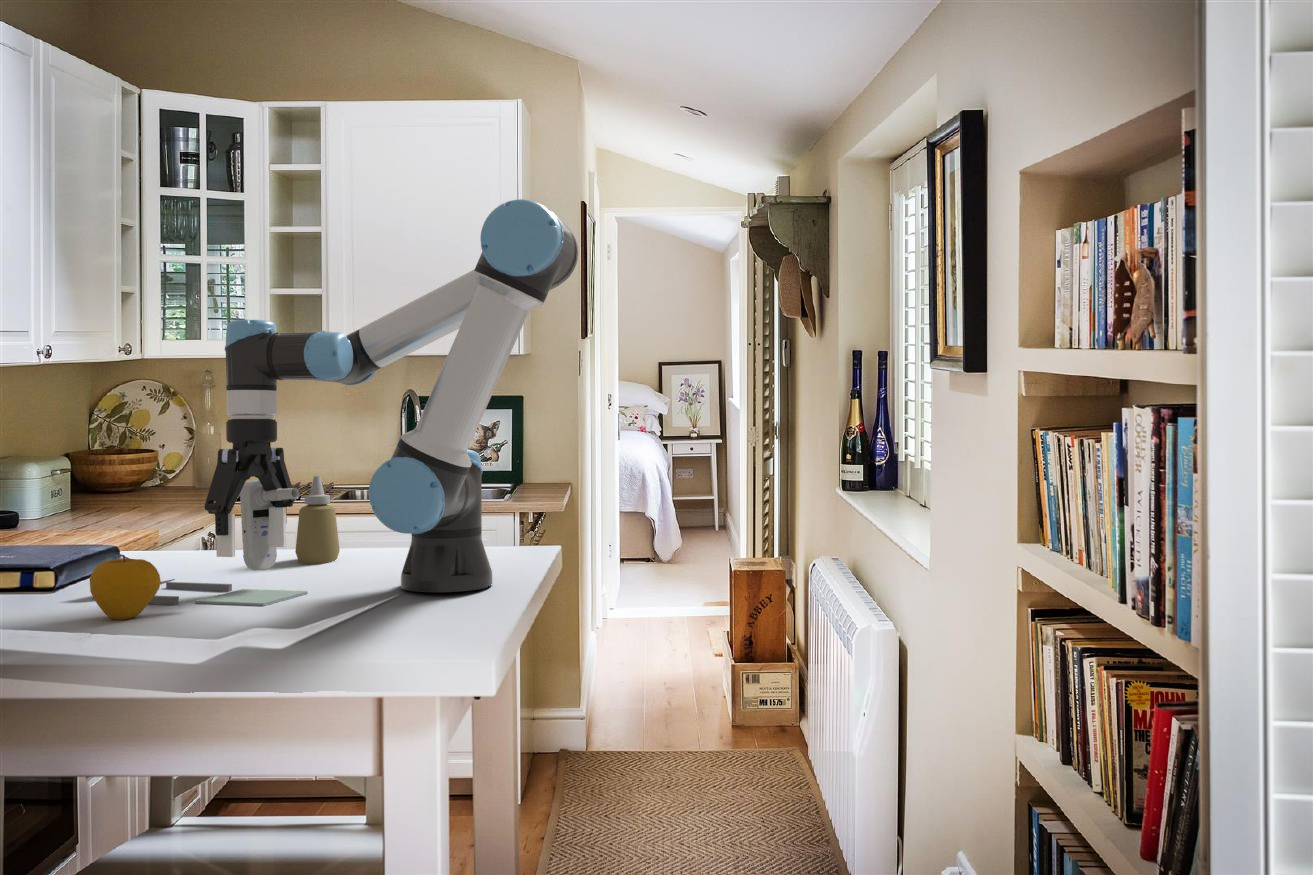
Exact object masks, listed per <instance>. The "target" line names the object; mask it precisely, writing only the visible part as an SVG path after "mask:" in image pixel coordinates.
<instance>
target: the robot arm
mask: <svg viewBox="0 0 1313 875" xmlns="http://www.w3.org/2000/svg"><path fill="white" fill-rule="evenodd" d="M480 249H481V251H482V252H481V253H480V256H479V258H478V260H477V263H476V265H475V268H474V269H472V270H471V271H468V272H467V273H464V274H462V275H460V276H459V277H456V278H455V279H453V280H450V282H447V283H445V284H443V285H441V286H439V287H438V288H435V289H433V290H432V291H431V290H430V292H428V293H426V294H423V295H421V296H420V297H418V298H417V299H415V300H412V301H410V302H408V303H407V304H405V305H402V306H400V307H399V308H397V309H395V310H393V311H390V312H389V313H387V314H385V315H383V316H382V317H379V318H377V319H375V320H373V321H372V322H369V323H368V324H365V325H364V326H362V327H360V328H359V329H357V330H355V331H353V332H350V333H349V334H347V335H346V334H345V333H343V332H339V331H335V332H334V331H326V330H319V331H307V332H278V330H277V326H276V325H277V324H276V323H274V322H273V321H270V320H267V319H266V320H265V319H264V320H263V319H234V320H231V321H230V322H228V324H227V325H226V330H225V331H226V332H225V345H224V351H225V371H226V372H225V375H226V376H225V377H226V382H225V383H226V385H225V386H226V402H225V403H226V410H225V411H226V412H225V414H226V415H227V417H228V416H230V419H227V421H225V423H226V424H225V425H226V427H225V430H226V431H225V433H226V434H225V435H226V436H225V437H226V442H227V443H230V444H232V448H219V449H218V451H217V464H216V465H215V470H214V472H213V473H214V474H213V477H212V480H211V482H210V487H209V490H208V494H207V496H206V499H205V503H204V506H203V507H204V510H205V511H207V512H208V514H209V515H214V525H215V528H214V531H215V535H216V537H215V538H216V541H215V542H216V557H217V558H220V557H221V558H235V557H236V516H235V515H236V514H235V513H231V512H232V511H233V509H234V506H235V505H236V502H237V500H238V498H239V497H240V494H241V490H242V488H243V486H244V484H245V483H246V482H247V481H248V480H249V479H250V480H251V477H254V478H256V479H257V480H259V481H260V483H261V485H262V487H263V488H264V490H265V491H270V490H276V489H278V488H282V489H287V488H293V486H292V483H291V479H290V476H289V471H288V469H287V466H286V462H285V454H284V453H285V452H284V448H283V447H271V445H272V443H276V442H277V440H278V421H277V419H274V416H275V417H276V416H278V391H277V386H278V385H277V384H278V381H319V382H328V383H335V384H336V383H337V384H343V385H345V386H346V385H347V386H355V385H362V384H365V383H366V382H368V381H369V380H371V379H373V377H374V375H375V374H376V372H377V371H378V370H380V369H382V368H384V367H387V366H388V365H390V364H392V363H394V362H396V361H398V360H400V359H402V358H404V357H406V356H408V355H410V354H413V353H414V352H416V351H418V350H420V349H422V348H424V347H425V346H427V345H429V344H432V343H433V342H435V341H437V340H439V339H441V338H443V337H445V336H447V335H450V334H452V333H453V332H455V331H458V332H457V334H456V336H455V338H454V340H453V342H452V344H451V347H450V349H449V352H448V354H447V356H446V358H445V360H444V363H443V365H442V367H441V369H440V371H439V374H438V377H437V378H436V381H435V384H434V386H433V387H432V389H431V392H430V395H429V397H428V400H427V401H426V403H425V406H424V408H423V410H422V412H421V416H420V417H419V420H418V422H417V423H416V424H417V425H416V426H415V428H413V429H412V430H410V431H408V432H405V433H403V434H401V436H400V438H399V441H398V442H397V444H396V447H395V449H394V451H393V452H392V453H393V454H392V455H391V458H390V459H388V460H386V461H385V462H383V463H382V464H381V465H380V466H379V467H378V468H377V469H376V470H375V472H374V473H373V475H372V476H371V479H370V481H369V482H370V483H369V486H368V487H369V488H368V500H369V501H368V502H369V505H370V507H371V508H372V509H371V510H372V511H373V514H374V516H375V517H376V518H377V520H378V521H379V522H380V523H381V524H382V525H384V526H385V527H386V528H388V529H389V530H391V531H393V532H396V533H400V534H409V535H410V534H411V539H410V545H409V548H408V552H407V554H406V558H405V561H404V564H403V567H402V571H401V574H400V588H401V589H402V590H405V591H409V592H417V593H422V592H423V593H454V592H455V593H456V592H468V591H476V590H481V589H486V588H489V587H492V585H493V570H492V567H491V563H490V561H489V559H488V556H487V552H486V549H485V546H484V543H483V538H482V536H483V535H482V530H483V529H482V527H483V525H482V522H483V521H482V520H483V519H482V514H483V513H482V499H483V498H482V475H483V468H482V461H481V460H482V459H481V456H480V454H479V453H478V452H477V451H475V450H473V449H469V447H470V445H471V442H472V441H473V438H474V436H475V434H476V432H477V429H478V427H479V425H480V423H481V421H482V418H483V417H484V414H485V412H486V409H487V407H488V404H489V403H490V400H491V398H492V395H493V394H494V391H495V390H496V387H497V384H498V382H499V380H500V378H501V376H502V373H503V370H504V369H505V366H506V364H507V363H508V360H509V358H510V356H511V354H512V351H513V349H514V346H515V344H516V342H517V340H518V338H519V336H520V333H521V331H522V329H523V325H524V324H525V321H526V320H527V318H528V315H529V313H530V311H531V310H533V309H536V308H538V307H540V306H541V307H542V306H543V305H544V303H545V302H546V301H545V300H546V298H547V297H548V294H549V293H550V291H551V290H554V289H555V288H557V287H559V286H561V285H562V284H563V283H565V282H566V281H567V280H568V279H569V278H570V276H571V275H572V274H573V272H574V270H575V269H576V267H577V264H578V258H579V257H578V256H579V250H578V249H579V247H578V242H577V239H576V236H575V234H574V233H573V231H572V230H571V229H570V228H569V227H568V225H566V224H565V223H564V222H563V221H562V220H560V219H559V217H558V216H557V214H556V213H555V212H554V211H553V210H552V209H550V208H549V207H546V206H545V205H543V204H541V203H538V202H536V201H534V200H531V199H524V198H522V199H521V198H519V199H513V200H509V201H506V202H504V203H501V204H500V205H498V206H497V207H495V208H494V209H493V210H492V211H490V213H489V214H488V215H487V217H486V219H485V221H483V225H482V227H481V230H480ZM295 500H296V499H285V500H281V501H270V502H271V503H272V505H273V506H274V507H270V508H269V547H277V548H287V523H288V520H287V509H288V508H293V506H294V503H295ZM491 584H492V585H491ZM488 586H489V587H488Z"/></svg>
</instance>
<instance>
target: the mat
mask: <svg viewBox="0 0 1313 875" xmlns="http://www.w3.org/2000/svg"><path fill="white" fill-rule="evenodd" d="M308 593H309V591H308V590H281V589H280V590H279V589H255V588H252V589H251V588H250V589H249V588H246V589H245V588H242V589H237V590H232V591H230V592H225V593H221V594H216V595H212V596H208V597H205V598H201V599H196V600H194V604H199V605H202V604H204V605H227V606H228V605H230V606H232V605H233V606H255V607H256V606H257V607H258V606H259V607H265V606H268V605H272V604H275V603H276V604H277V603H279V602H282V601H285V600H289V599H293V598H298V597H301V596H304V595H308Z"/></svg>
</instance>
